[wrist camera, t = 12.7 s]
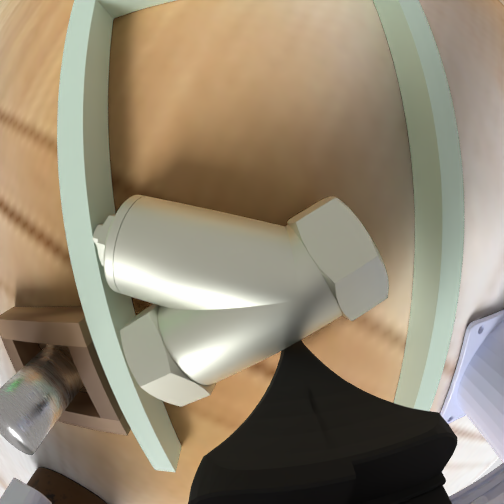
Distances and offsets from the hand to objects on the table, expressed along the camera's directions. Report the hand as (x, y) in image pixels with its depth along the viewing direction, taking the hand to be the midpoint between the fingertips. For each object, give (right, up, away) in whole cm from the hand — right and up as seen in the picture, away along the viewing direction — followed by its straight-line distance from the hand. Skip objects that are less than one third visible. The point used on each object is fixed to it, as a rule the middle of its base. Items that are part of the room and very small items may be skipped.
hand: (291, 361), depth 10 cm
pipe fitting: (-2, +4, +1) cm, 5 cm away
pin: (-11, -2, +2) cm, 11 cm away
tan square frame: (-11, -2, +2) cm, 11 cm away
